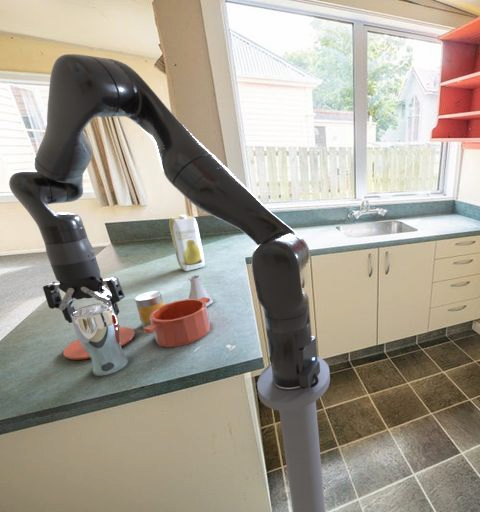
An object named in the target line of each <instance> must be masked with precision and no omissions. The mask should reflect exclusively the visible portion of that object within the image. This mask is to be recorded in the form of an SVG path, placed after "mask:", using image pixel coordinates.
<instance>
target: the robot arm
mask: <svg viewBox="0 0 480 512" xmlns="http://www.w3.org/2000/svg"><path fill="white" fill-rule="evenodd" d="M49 77H50V78H49V88H48V100H47V112H46V126H45V132H44V135H43V137H42V140H41V143H40V144H39V147H38V149H37V151H36V153H35V155H34V159H33V167H34V170H29V171H27V170H26V171H17V172H14V174H12V175H11V176H10V177H9V183H8V185H9V189H10V191H11V193H12V195H13V196H14V197H15V198H16V200H17V201H18V202H19V203H20V204H21V206H23V208H24V209H25V210H26V211H27V212H28V215H30V217H31V218H32V219H33V221H34V222H35V224H36V226H37V227H38V230H39V233H40V235H41V237H42V241H43V243H44V246H45V251H46V256H47V257H48V258H47V259H48V261H49V263H50V267H51V270H52V271H53V274H54V277H55V280H56V281H57V282H56V281H52V282H50V283H48V284H45V285H43V286H42V290H43V293H44V296H45V299H46V303H47V307H48V308H49V309H51V310H53V309H58V310H60V311H61V312H62V314H63V317H64V320H65V321H66V322H68V323H69V324H71V323H72V324H73V321H72V317H71V314H72V313H73V312H74V311H76V308H75V305H73V304H74V302H75V300H77V301H78V300H82V299H95V300H96V301H100V302H101V303H110V304H112V307H113V309H114V311H115V313H116V316H117V317H118V315H119V313H120V308H119V306H118V303H119V302H120V301H121V300H123V299H124V298H125V297H126V296H125V293H124V290H123V288H122V285H121V283H120V280H119V278H118V277H117V276H113V277H111V278H105V279H104V278H102V276H101V269H100V267H99V264H98V261H97V257H96V254H95V251H94V248H93V246H92V243H91V242H90V240H89V237H88V234H87V231H86V228H85V225H84V222H83V220H82V217H81V216H80V215H78V214H76V213H70V212H56V211H53V210H52V209H51V208H50V207H49V205H54V204H62V203H63V204H65V203H72V202H75V201H77V200H79V199H80V198H82V196H83V195H84V185H83V184H84V183H83V180H84V173H85V172H86V170H87V168H88V166H89V165H90V163H91V160H92V158H93V154H94V151H93V150H94V149H93V146H92V143H91V141H90V139H89V138H88V136H87V134H86V132H85V130H86V128H87V126H88V124H90V122H92V121H93V120H94V119H95V118H123V117H125V118H127V119H130V120H131V121H132V122H134V123H135V124H136V125H137V126H138V127H140V128H141V129H142V131H144V132H145V134H146V135H148V136H149V138H150V139H151V140H152V142H153V143H154V145H155V148H156V152H157V157H158V160H159V165H160V167H161V170H162V173H163V175H164V176H165V178H166V180H167V181H168V182H169V183H170V184H171V185H172V186H173V187H174V188H175V189H176V190H177V191H178V192H179V193H180V194H181V195H183V196H184V197H185V198H186V199H187V200H188V201H189V202H190V203H191V204H193V205H194V206H195V207H197V208H198V209H200V210H201V211H203V212H204V213H206V214H208V215H211V216H212V217H214V218H216V219H218V220H220V221H223V222H225V223H227V224H229V225H230V226H232V227H235V228H236V229H238V230H240V231H241V232H242V233H244V234H245V236H247V237H249V238H250V239H251V240H252V241H253V242H254V243H255V244H256V245H257V246H256V247H255V248H254V249H253V252H252V255H251V272H252V276H253V282H254V287H255V292H256V293H255V294H256V297H257V300H258V302H259V304H260V306H261V307H262V309H263V316H264V317H263V318H264V323H265V332H266V337H267V345H268V346H267V347H268V352H269V353H268V355H269V362H270V365H271V368H272V375H273V377H272V379H273V384H274V385H275V386H276V387H277V388H278V389H281V390H286V391H291V390H297V389H300V388H303V389H306V388H309V387H311V388H313V387H314V386H316V385H317V384H318V382H319V379H318V377H317V376H318V374H319V373H320V363H319V361H318V359H317V357H318V347H317V337H316V336H315V335H313V331H312V321H311V308H310V298H309V295H308V293H307V292H305V291H304V290H303V287H302V280H301V278H302V277H301V272H302V271H303V270H304V269H305V268H306V267H307V266H308V264H309V262H310V260H311V259H310V258H311V252H310V249H309V246H308V243H307V241H305V239H304V238H303V237H302V236H301V235H300V234H299V233H297V231H295V230H294V229H292V228H291V227H290V226H289V225H288V224H286V223H285V222H284V221H282V220H281V219H280V218H279V217H277V215H275V214H274V213H273V212H271V211H270V210H269V209H268V208H267V207H266V206H265V205H264V204H263V203H262V202H261V201H260V200H259V198H257V197H256V196H255V195H254V194H253V193H252V192H251V191H250V190H249V189H248V188H247V187H246V186H245V184H243V183H242V182H241V181H240V180H239V179H238V178H237V177H236V176H235V175H234V174H233V173H232V172H231V170H229V168H228V167H226V166H225V164H223V163H222V161H220V160H219V159H218V158H217V156H216V155H214V154H213V153H212V152H211V151H210V150H209V149H208V148H207V147H205V145H203V143H201V142H200V141H199V139H197V138H196V137H195V136H194V134H193V133H192V132H190V130H189V129H188V128H187V127H186V126H185V125H184V124H183V123H182V122H181V121H180V120H179V119H178V118H177V117H176V116H175V115H174V114H173V112H171V110H170V109H169V108H168V107H167V106H166V105H165V103H164V102H163V101H162V100H161V98H159V96H158V95H157V94H156V92H155V91H153V89H152V88H151V87H150V86H149V84H148V83H147V82H146V81H145V80H144V79H143V78H142V76H140V74H139V73H138V72H137V71H135V69H133V68H132V67H131V66H129V65H128V64H126V63H124V62H123V61H119V60H117V59H113V58H108V57H107V58H106V57H100V56H93V55H87V54H77V53H76V54H75V53H67V54H66V53H65V54H62V55H60V56H59V57H57V59H56V60H55V61H54V63H53V65H52V69H51V72H50V76H49ZM107 288H108V289H107ZM60 291H62V292H63V293H65V294H64V296H63V298H62V295H61V292H60ZM100 293H101V294H100ZM314 380H315V382H314ZM313 382H314V383H313ZM312 383H313V384H312Z"/></svg>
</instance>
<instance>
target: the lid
mask: <svg viewBox="0 0 480 512" xmlns="http://www.w3.org/2000/svg"><path fill="white" fill-rule="evenodd" d="M135 334H136V333H135V330H134V329H133V328H131V327H124V326H122V327H121V326H120V335H121V347H124V346H125V345H127V344H128V343H129V342H131V341H132V340H133V339H134V337H135ZM63 356H64V358H66V359H68V360H74V361H75V360H87V359H91V358H90V356H89V354H88V353H87V351H86V350H85V349H84V347H83V346H82V344H81V343H80V341H79V339H78V338H77V339H76V340H74V341H72V342H71V343H70V344H68V345H67V346H66V347H65V348H64V350H63Z"/></svg>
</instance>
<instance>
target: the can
mask: <svg viewBox="0 0 480 512" xmlns="http://www.w3.org/2000/svg"><path fill="white" fill-rule="evenodd" d="M134 300H135V305H136V308H137V312H138V315H139V319H140V322H141V326H142V329H143V328H145V327H147V326H148V325H150V324H151V321H150V315H151V313H152V312H153V311H154V310H156V309H157V308H159V307H161V306H163V305H165V302H164V298H163V294H162V292H161V291H159V290H154V291H147V292H143V293H141V294H138V295H137V296H135V297H134Z"/></svg>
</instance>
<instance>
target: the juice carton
mask: <svg viewBox="0 0 480 512" xmlns="http://www.w3.org/2000/svg"><path fill="white" fill-rule="evenodd" d="M196 219H197V218H195V216H192V215H187V214H180V215H179V217H170V218H169V223H168V225H169V230H170V235H171V240H172V244H173V248H174V252H175V257H176V261H177V264H178V266H179V268H180V269H182V270H183V271H185V272H188V271H189V272H190V271H192V270H196V269H201V268H204V267H205V255H204V250H203V245H202V239H201V235H200V230H199V225H198V221H197V220H196Z"/></svg>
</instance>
